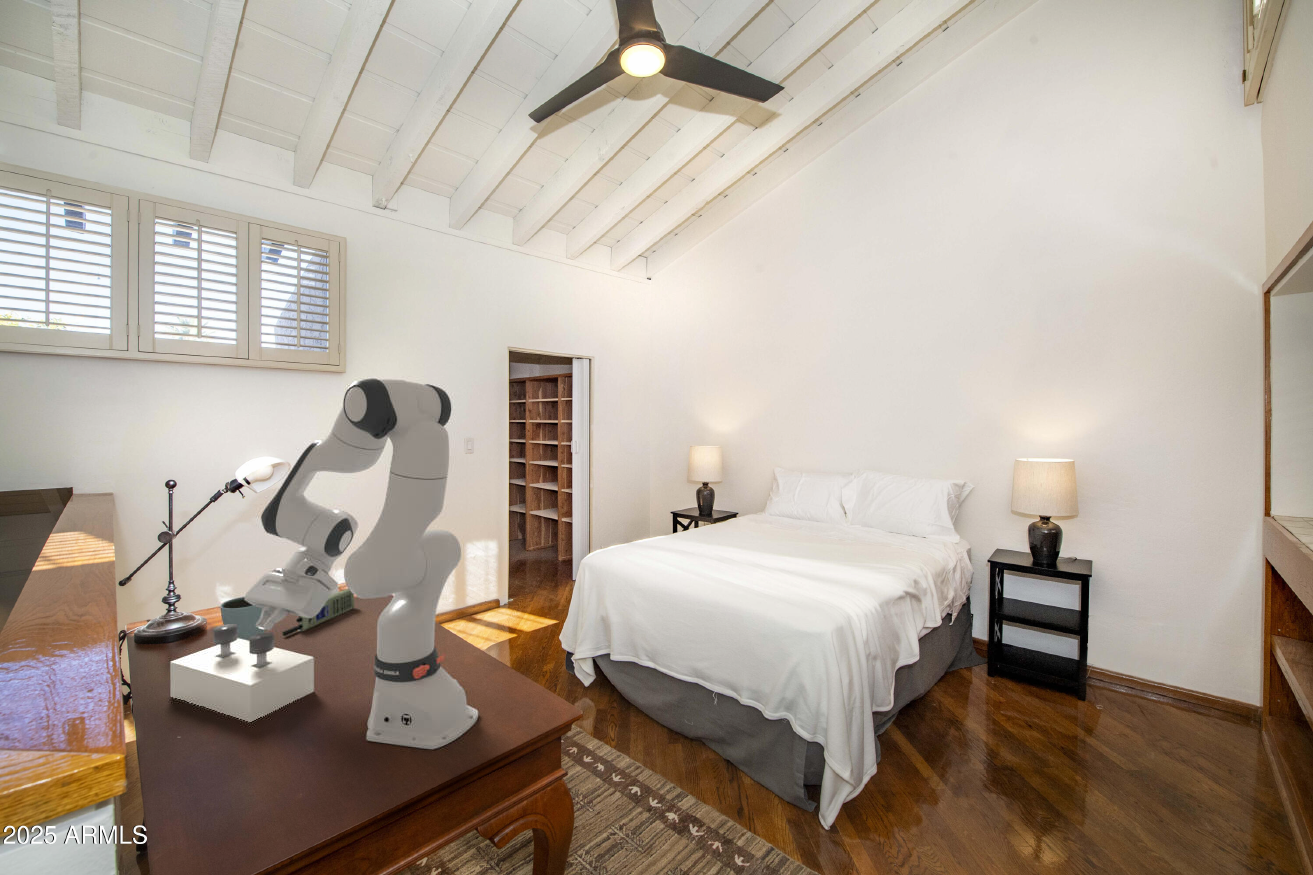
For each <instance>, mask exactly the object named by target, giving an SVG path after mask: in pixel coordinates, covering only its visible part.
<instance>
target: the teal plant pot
mask: <svg viewBox="0 0 1313 875" xmlns="http://www.w3.org/2000/svg"><path fill="white" fill-rule="evenodd" d="M244 598H245V596H240V597H236V598H232V599H229V600H226V601H224V602H223V603H221V604H220V606H219V608H220V613H221V614H220V615H221V621H222V625H226V624H236V625H238V638H239V639H243V640H247V641H249V638H250V637H251V636H253V635H256V634H260V633H266V630H264V629H260V628H258V627H256V623H257V622H258V621H259V619H260V616H261V612H262V609H263V608H262V607H257V606H253V605H252V604H250V603H248V602H247V601H245V599H244Z"/></svg>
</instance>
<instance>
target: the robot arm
mask: <svg viewBox="0 0 1313 875" xmlns="http://www.w3.org/2000/svg"><path fill="white" fill-rule="evenodd" d="M342 402H343V403H342V405H343V406H342V407H341V409H340V410H339V413H338V414H337V416H336V419H335V421H334V423H333V425H332V428H331V431H330V433H329V435H328V436H326V437H325V438H324V439H317V440H314V441H313V442H311V443H310V445H308V446H307V447H306V448H305V450H304V451H302V453H301V455H300V456H299V458H298V459H297V461H296V462H295V463H294V465H293V467H292V468H291V470H290V471H289V473H288V474H287V476H286V477H285V479H284V481H283V482H282V484H281V486H280V487H279V489H278V490H277V492H276V493H275V495H274V496H273V498H272V499H271V500H270V501H269V503H268V504H267V506H266V507H264V510H263V511H262V513H261V515H260V519H261V520H260V521H261V525H262V527H263V529H264V532H266V533H267V534H270V535H273V536H275V537H278V538H282V539H285V540H288V541H290V542H292V543H294V544H297V545H299V546H301V547H300V548H299V549H297V550H296V551H295V552H294V553H293V554H292V556H291V557H290V558H289V560H288V561H287V562H286V563H285V565H284V566H283V567H282V568H280V567H279V568H275V569H273V570H271V571H268V572H266V573H265V574H263V576H261V577H260V578H259V579H258V580H256V582H255V583H254V584H253V585H252V586H251V587H250V589H249V590H248V591H247V592H246V593H245V595H244V597H245V598H244V599H245V601H247V602H248V603H250V604H252V605H253V606H257V607H262V608H263V609H262V612H261V616H260V619H259V621H258V622H257V623H256V627H258V628H260V629H264V630H265V631H270V630H271V631H272V628H273V627H274V626H275V624H277V623H279V622H281V620H283V619H285V617H286V616H287V614H289V615H293V616H298V617H299V616H302V617H307V618H312V617H314V616H315V615H317V614H318V613H319V612H320V610H321V609H322V607H323V606H324V605H325V603H326V602H327V600H328V599H329V597H330V594H331V591H333V590H334V589H335V588H336V587H337V586H338V585H339V583H338V581H336V580H335V579H334V578H333V577H332V576H331V575H330V574H329V573H330V572H331V570H332V567H333V566H334V563H335V562H336V561H337V560H338V559H339V558H341V557H342V555H344V554H343V553H344V552H345V551H346V550H347V549H348V547H349V546H350V544H351V542H352V541H353V538H354V536H355V534H356V532H357V530H358V528H359V523H358V521H357V519H356V518H355V517H354V516H353V515H352V514H351V513H349V512H347V511H345V510H341V509H340V510H339V509H336V510H335V509H334V510H331V509H330V508H326V507H324V506H322V505H320V504H318V503H315V502H313V501H310V499H308V498H307V497H306V496H305V494H304V493H305V492H306V490H307V489H308V487H309V485H310V483H311V482H312V480H313V478H314V477H315V476H316V473H318V472H328V473H329V472H331V473H337V474H338V473H340V474H353V473H355V474H356V473H361V472H363V471H367V470H368V469H370V468H372V467H373V466H374V465H376V464H377V463H378V461H379V459H381V456H382V454H383V452H384V449H385V447H386V445H387V441H388V439H389V441H390V442H391V444H392V457H391V460H390V468H389V473H388V474H389V475H388V482H387V488H386V493H385V500H384V504H383V508H382V510H381V513H380V514H379V518H378V520H377V522H376V523H375V525H374V527H373V529H372V531H371V532H370V533H369V535H368V536H367V538H366V539H365V540H364V542H363V543H362V544H361V545H360V546H359V547H358V548H357V549H355V550H354V551H353V552H352V553H351V554H350V555H349V556H348V558H347V559H346V562H345V565H344V570H343V577H344V582H345V585H346V586H347V589H349V590H350V591H351V592H352V593H353V594H354V596H356V597H357V598H359V599H363V600H365V599H376V598H377V599H378V598H383V597H384V598H385V597H388V596H393V597H392V599H391V601H390V602H389V604H387V606H386V607H385V608H384V609H383V610H382V611H381V613H380V615H379V616H378V618H377V623H376V627H377V628H376V634H377V635H376V654H375V655H374V663H373V668H374V670H373V671H374V676H375V683H374V684H375V685H374V688H373V689H374V690H373V694H372V703H371V709H370V713H369V717H368V720H367V721H366V722H367V724H366V726H367V731H366V736H365V740H366V741H369V742H375V743H382V744H389V745H396V746H404V747H412V748H417V749H425V750H426V749H427V750H434V749H435V750H436V749H438V748H441V747H443V746H446V745H448V744H449V743H451V742H453V741H455V740H456V739H458V738H459V737H461V736H462V735H463V734H465V733H466V732H467V731H468V730H469V729H471V727H472V726H474V725H475V724H476V722H477V720H478V718H479V711H478V709H476V708H474V707H472V706H470V705H468V704H467V696H466V695H467V694H466V692H465V689H464V688H463V687H462V686H461V685H460V684H459V681H458V680H457V679H454V678H453V677H452V676H451V675H450V674H449V673H448V672H447V671H446V670H445V669H444V668H443V667H442V663H441V662H443V661H445V658H444V657H445V654H442V655H441V656H439V654H438V651H437V647H436V645H435V630H436V629H435V627H436V626H435V625H436V616H437V609H438V605H439V601H440V598H441V595H442V592H443V591H444V588H445V585H446V583H447V581H448V578H449V577H450V576H451V574H452V573H453V571H454V570H455V569H456V568H457V567H458V565H459V563H460V561H461V557H462V548H461V544H460V542H459V540H458V538H457V537H456V535H454V534H453V533H452V532H450V531H449V530H442V529H430V530H429V529H428V528H429V526H430V525H431V524H432V523H433V521H435V520H436V519H437V518H438V517H439V516H440V515H441V513H442V511H443V508H444V502H445V496H446V488H447V482H448V476H449V466H450V441H449V439H450V438H449V433H448V431H447V429H446V428H445V426H446V425H447V424H448V422H449V420H450V418H451V414H452V402H451V399H450V397H449V395H448V393H447V392H446V391H445V389H443V388H440V387H438V386H435V385H433V384H428V383H424V384H423V383H418V382H414V381H413V382H412V381H406V380H403V379H390V378H389V379H385V378H384V379H377V378H364V379H359V380H356V381H354V382H352V383H351V384H350V385H349V386H348V388H347V389H346V391H345V394H344V396H343V401H342ZM338 587H339V586H338Z"/></svg>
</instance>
